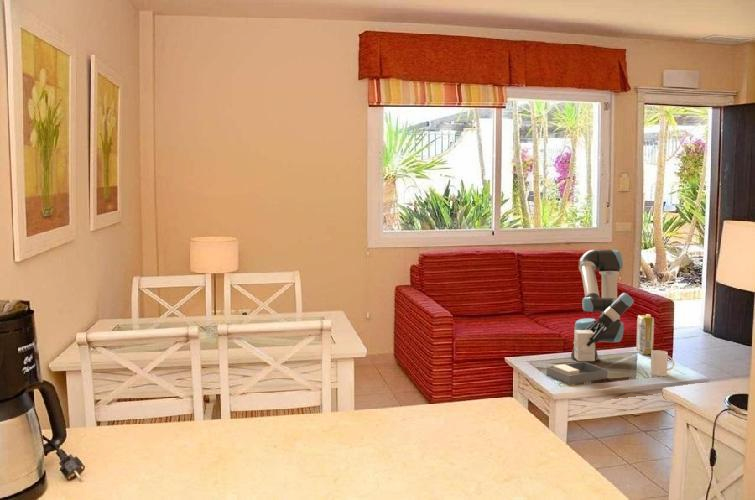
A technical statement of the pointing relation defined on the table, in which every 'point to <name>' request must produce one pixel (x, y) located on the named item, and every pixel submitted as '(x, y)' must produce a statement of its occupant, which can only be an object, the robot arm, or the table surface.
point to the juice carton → (645, 334)
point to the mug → (659, 363)
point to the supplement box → (579, 340)
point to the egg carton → (566, 369)
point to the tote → (585, 373)
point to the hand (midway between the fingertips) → (578, 347)
